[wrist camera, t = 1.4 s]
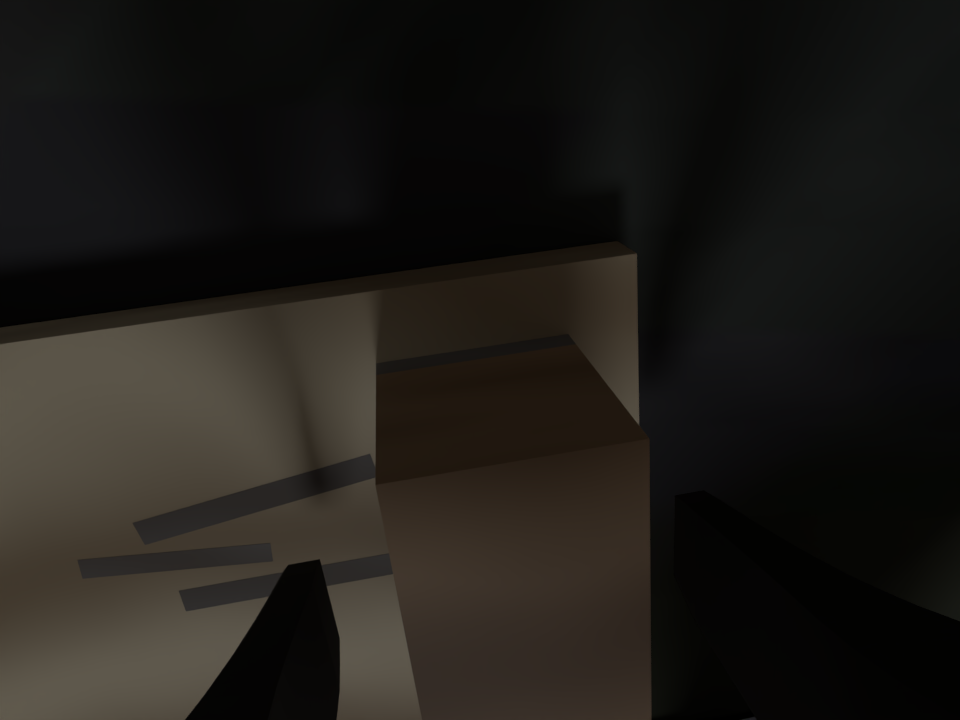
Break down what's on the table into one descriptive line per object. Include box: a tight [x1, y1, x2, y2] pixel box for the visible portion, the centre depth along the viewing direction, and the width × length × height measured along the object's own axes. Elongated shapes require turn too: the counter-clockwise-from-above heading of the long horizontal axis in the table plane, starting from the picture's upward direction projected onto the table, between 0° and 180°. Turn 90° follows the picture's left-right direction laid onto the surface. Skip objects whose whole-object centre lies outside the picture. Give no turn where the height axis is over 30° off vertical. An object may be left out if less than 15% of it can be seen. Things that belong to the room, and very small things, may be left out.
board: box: [0, 241, 639, 720], centre depth 16 cm, size 12×16×1 cm
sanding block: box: [375, 334, 651, 720], centre depth 13 cm, size 8×4×4 cm, turn 6°
